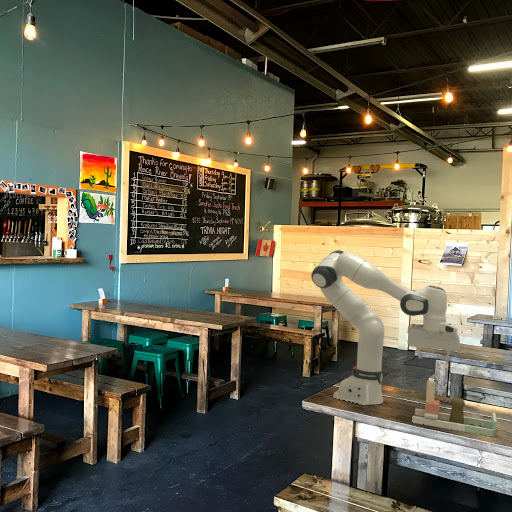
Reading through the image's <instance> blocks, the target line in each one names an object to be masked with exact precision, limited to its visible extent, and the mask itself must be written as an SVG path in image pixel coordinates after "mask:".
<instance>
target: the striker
mask: <svg viewBox="0 0 512 512" xmlns="http://www.w3.org/2000/svg"><path fill="white" fill-rule="evenodd" d="M435 392H436V381H434V380H426V394H425V396H426V397H425V403H424V404H425V408H424V410H425V414H424V416H423V417H424V418H429V419H435V420H440V419H439V412H440V402H441V401H440V400H437V399H435V394H436V393H435Z"/></svg>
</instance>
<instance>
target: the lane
mask: <svg viewBox="0 0 512 512" xmlns="http://www.w3.org/2000/svg"><path fill="white" fill-rule="evenodd" d="M424 414H425V409H423V408H422V409H421V408H416V407H415V409H414V415H411V416H412V418H411V423H412V422H413V423H414V424H417V425H423V424H424V426H431V427H436V428H441V429H445V430H451V429H452V431H457V430H458V432H462V431H463V432H464V433H468V432H469V434H474V433H476V434H475V435H479V434H482V435H481V436H485V435H487V436H486V437H490V436H492V437H491V438H496V437H497V424H498V423H497V422H498V421H497V415H496V412H492V417H491V418H492V419H491V420H487V419H482V418H476V417H475V418H474V417H470V416H465V415H464V424H458V423H452V422H449V419H450V414H451V413H445V412H440V411H439V419H438V420H435V419H429V418H424ZM465 423H466V424H465ZM471 424H474V425H471ZM477 425H481V426H477ZM483 426H486V427H483ZM489 427H490V428H489Z"/></svg>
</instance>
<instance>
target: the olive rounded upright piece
mask: <svg viewBox="0 0 512 512" xmlns="http://www.w3.org/2000/svg"><path fill="white" fill-rule="evenodd" d="M450 404H451V410H450V413H449V414H450V419H449V421H448V422H452V423H458V424H464V425H465V423H464V416H465V415H464V407H465V406H466V402H465V400H464V399H463V398H459V397H453V398H451V399H450Z"/></svg>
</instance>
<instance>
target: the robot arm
mask: <svg viewBox="0 0 512 512" xmlns="http://www.w3.org/2000/svg"><path fill="white" fill-rule="evenodd" d="M310 276H311V280H312V282H313V284H314V285H315V286H316V287H318V288H319V289H320V291H321V293H322V294H323V296H324V297H325V298H326V299H327V301H328V302H329V303H330V304H331V305H332V306H333V307H334V308H335V309H336V310H337V311H338V312H339V313H340V315H342V316H343V317H344V318H345V319H346V320H347V321H348V322H349V323H351V324H352V325H353V326H354V327H355V328H356V329H357V330H358V339H357V340H358V341H357V357H356V365H355V366H353V368H352V370H351V374H352V375H350V376H349V377H347V378H345V379H344V380H343V381H341V382H340V383H339V386H338V387H339V388H338V390H336V391H335V392H334V393H333V396H332V398H334V399H335V398H336V399H335V400H339V399H340V401H343V400H345V401H344V402H348V401H350V402H349V403H352V402H354V403H353V404H356V403H358V404H357V405H362V406H369V405H380V404H383V403H384V399H383V393H382V392H383V391H382V381H383V370H382V364H383V363H382V362H383V351H384V342H385V341H384V340H385V326H384V322H383V321H382V318H381V317H379V315H378V314H377V313H376V312H374V310H372V309H371V308H370V307H369V306H368V305H367V304H366V303H365V302H364V301H363V300H362V299H361V298H360V297H359V296H358V295H357V294H356V293H355V292H354V291H353V290H352V289H350V287H349V286H348V285H346V284H345V282H344V281H343V278H342V277H344V278H346V279H348V280H349V281H351V282H353V283H354V284H356V285H358V286H360V287H363V288H364V289H368V290H376V291H381V292H384V293H385V294H387V295H389V296H391V297H392V298H394V299H395V300H397V301H399V302H400V303H399V306H400V310H401V311H402V312H403V313H404V314H405V315H407V316H410V317H415V316H423V318H422V323H421V324H420V323H418V324H417V323H411V324H409V325H408V326H407V334H408V338H407V345H408V346H409V347H412V348H413V347H415V350H416V352H417V354H418V359H423V358H424V356H423V355H424V354H423V353H421V351H420V350H421V348H426V349H430V350H431V349H432V350H442V351H446V355H445V356H444V355H443V356H442V357H443V359H442V362H448V357H449V356H450V354H451V352H459V351H460V350H461V342H460V341H461V339H460V335H459V333H458V327H457V326H456V325H455V324H451V323H449V322H447V317H446V315H447V309H448V296H447V292H446V290H445V289H444V288H443V287H440V286H435V285H426V286H425V287H424V288H421V289H418V290H415V289H409V288H407V287H405V286H403V285H402V284H400V283H399V282H397V281H395V280H393V279H392V278H390V277H389V276H388V275H386V274H385V273H384V272H382V270H380V269H379V268H378V267H376V265H374V264H373V263H372V262H370V261H369V260H367V259H365V258H364V257H362V256H360V255H358V254H356V253H353V252H350V251H343V250H334V251H332V252H330V253H329V254H328V255H326V256H325V257H324V258H323V259H322V260H321V262H319V263H318V265H317V266H315V268H314V269H313V270H312V272H311V275H310Z"/></svg>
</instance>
